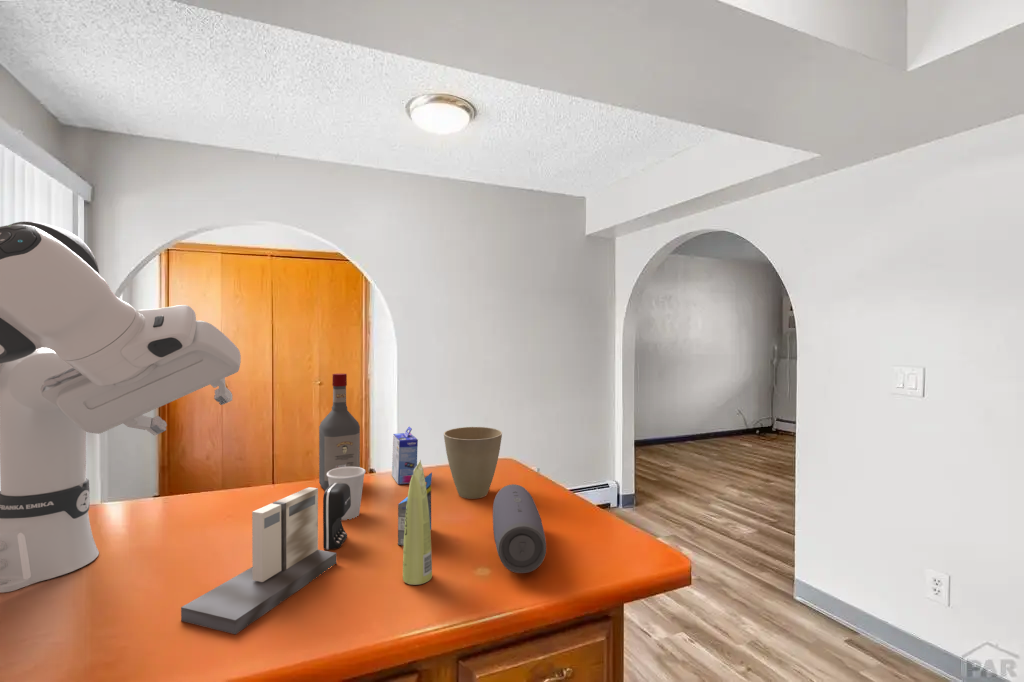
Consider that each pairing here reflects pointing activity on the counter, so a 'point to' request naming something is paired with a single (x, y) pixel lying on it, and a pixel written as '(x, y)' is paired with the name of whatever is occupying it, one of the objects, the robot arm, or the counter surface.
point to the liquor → (338, 434)
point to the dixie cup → (355, 482)
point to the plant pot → (472, 458)
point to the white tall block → (266, 542)
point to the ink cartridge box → (404, 456)
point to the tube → (417, 532)
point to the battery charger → (335, 514)
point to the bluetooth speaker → (518, 530)
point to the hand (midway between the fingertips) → (194, 414)
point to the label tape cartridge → (402, 510)
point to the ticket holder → (252, 599)
